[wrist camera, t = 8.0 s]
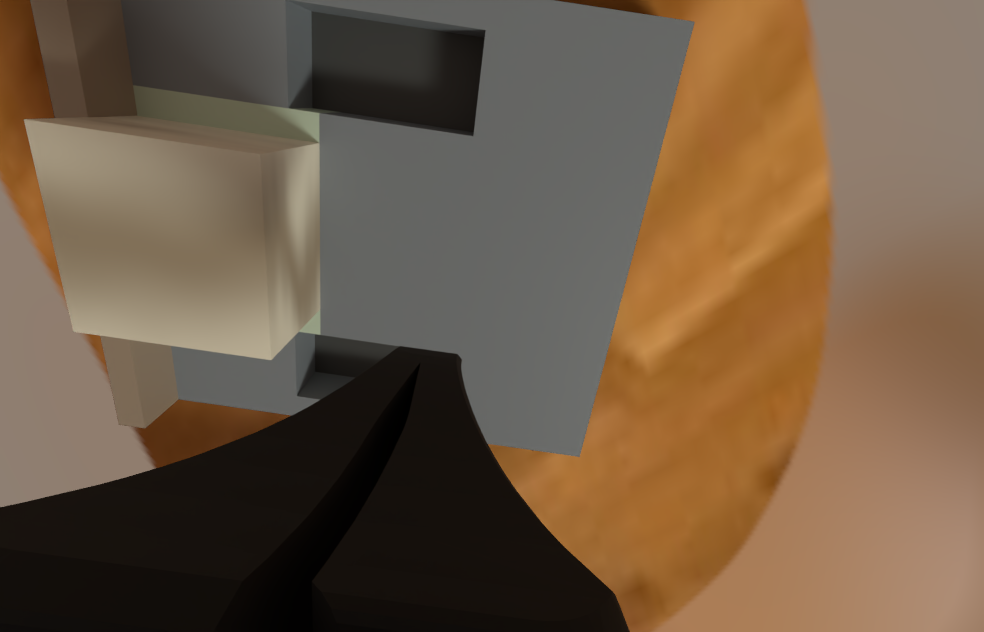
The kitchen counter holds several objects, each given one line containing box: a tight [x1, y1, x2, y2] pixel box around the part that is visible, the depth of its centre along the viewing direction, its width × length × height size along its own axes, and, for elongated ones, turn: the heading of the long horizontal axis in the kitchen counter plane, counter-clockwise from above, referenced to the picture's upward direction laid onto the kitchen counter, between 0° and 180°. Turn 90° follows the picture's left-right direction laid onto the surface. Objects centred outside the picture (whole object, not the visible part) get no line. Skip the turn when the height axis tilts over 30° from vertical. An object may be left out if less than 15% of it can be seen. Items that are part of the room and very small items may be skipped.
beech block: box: [24, 116, 320, 360], centre depth 15 cm, size 6×6×4 cm
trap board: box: [30, 0, 694, 457], centre depth 17 cm, size 16×18×4 cm
